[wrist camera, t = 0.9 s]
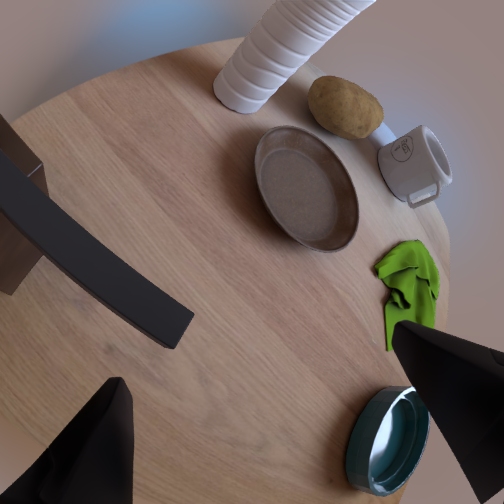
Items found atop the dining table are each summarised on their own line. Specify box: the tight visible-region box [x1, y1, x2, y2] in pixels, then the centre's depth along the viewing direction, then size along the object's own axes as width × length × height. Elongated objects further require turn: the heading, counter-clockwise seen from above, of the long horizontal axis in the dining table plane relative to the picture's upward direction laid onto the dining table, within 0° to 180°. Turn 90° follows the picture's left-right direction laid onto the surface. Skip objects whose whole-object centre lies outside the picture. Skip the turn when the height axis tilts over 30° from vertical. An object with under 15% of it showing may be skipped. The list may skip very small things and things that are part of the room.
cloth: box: [375, 240, 439, 351], centre depth 39 cm, size 20×22×2 cm
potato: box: [308, 76, 384, 140], centre depth 36 cm, size 10×14×8 cm
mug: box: [378, 125, 453, 209], centre depth 42 cm, size 14×11×10 cm
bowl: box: [346, 386, 430, 497], centre depth 28 cm, size 15×15×4 cm
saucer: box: [254, 126, 359, 253], centre depth 31 cm, size 15×15×3 cm
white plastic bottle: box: [213, 0, 376, 114], centre depth 21 cm, size 9×6×25 cm
